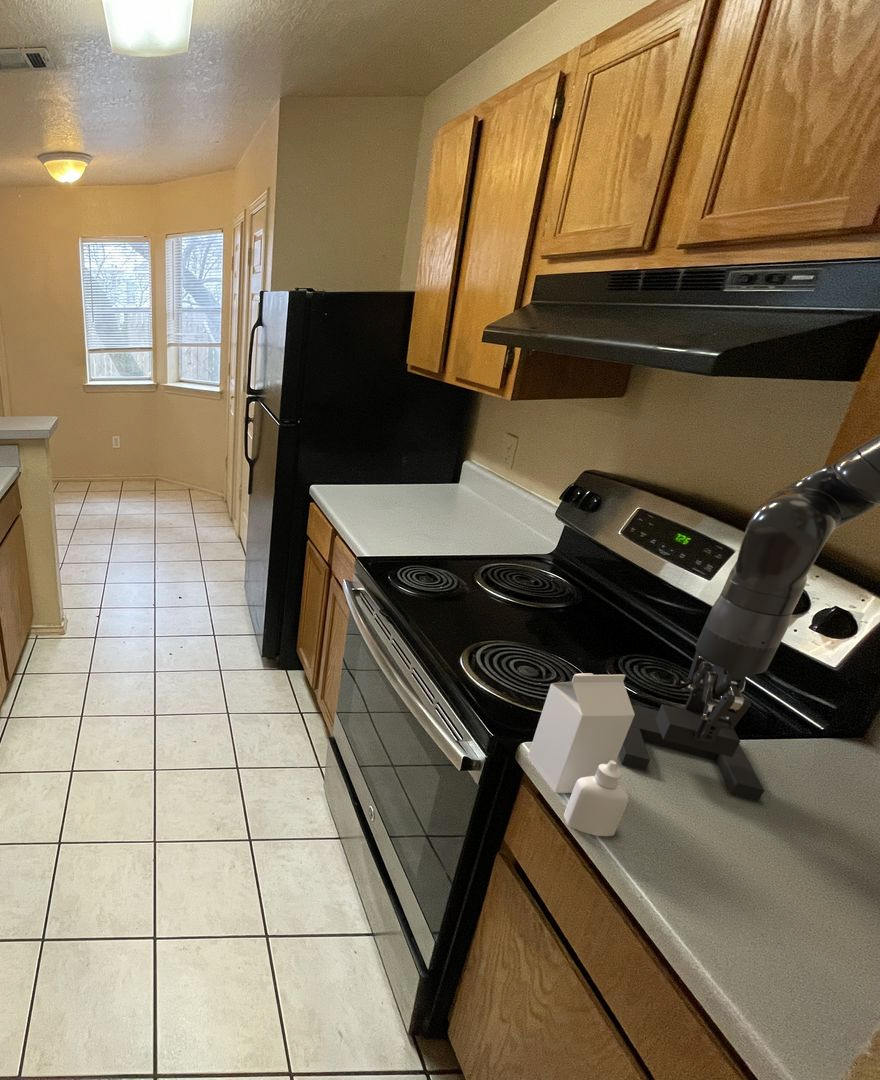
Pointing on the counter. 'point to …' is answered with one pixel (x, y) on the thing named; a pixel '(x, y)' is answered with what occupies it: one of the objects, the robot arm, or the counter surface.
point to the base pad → (732, 768)
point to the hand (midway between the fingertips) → (697, 727)
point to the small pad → (681, 730)
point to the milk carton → (580, 728)
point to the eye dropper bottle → (597, 802)
